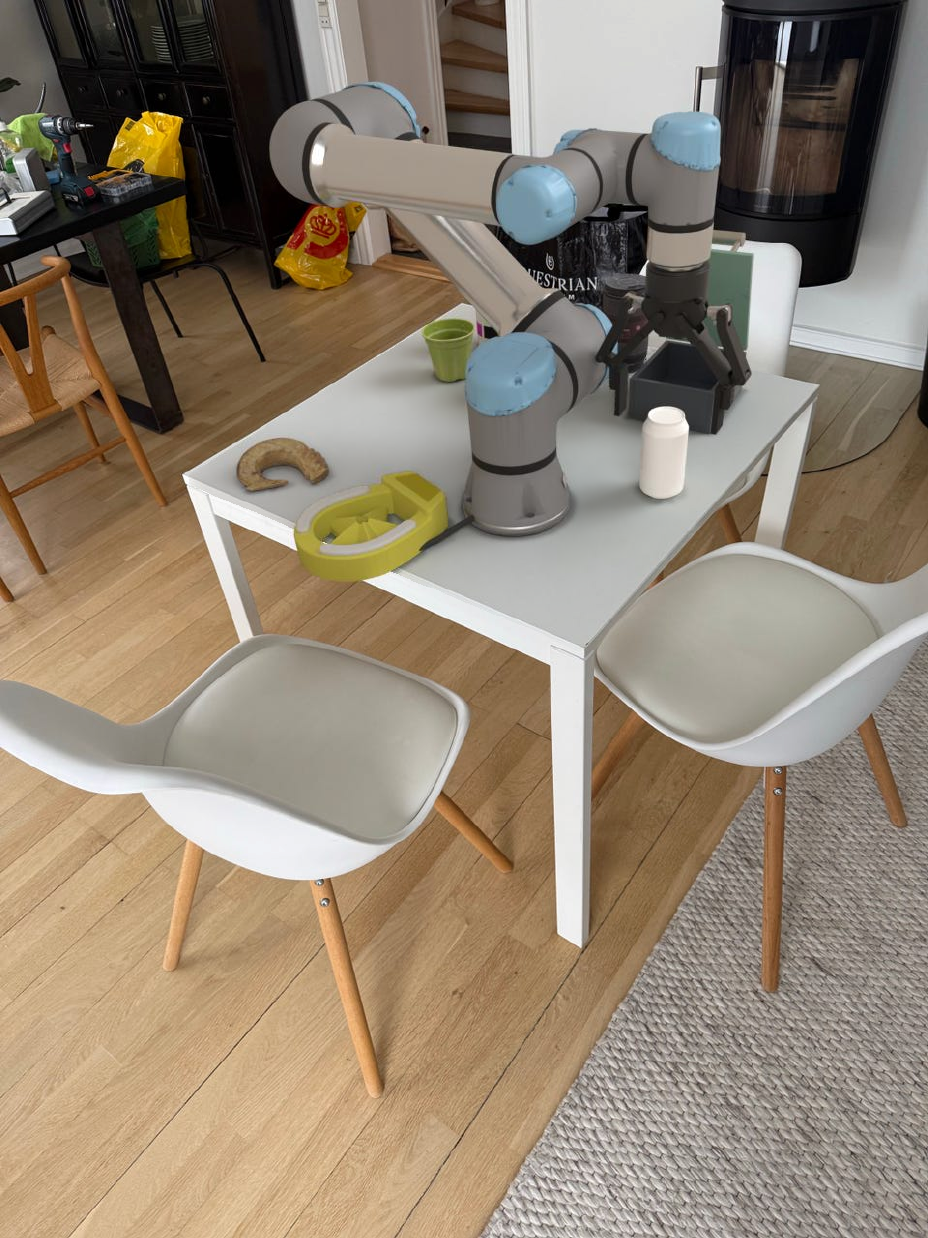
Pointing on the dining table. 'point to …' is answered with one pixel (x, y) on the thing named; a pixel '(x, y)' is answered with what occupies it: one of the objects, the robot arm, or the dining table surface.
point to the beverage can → (663, 452)
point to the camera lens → (612, 295)
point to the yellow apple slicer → (370, 527)
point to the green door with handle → (730, 284)
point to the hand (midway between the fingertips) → (667, 420)
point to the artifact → (279, 462)
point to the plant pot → (449, 347)
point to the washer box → (676, 385)
